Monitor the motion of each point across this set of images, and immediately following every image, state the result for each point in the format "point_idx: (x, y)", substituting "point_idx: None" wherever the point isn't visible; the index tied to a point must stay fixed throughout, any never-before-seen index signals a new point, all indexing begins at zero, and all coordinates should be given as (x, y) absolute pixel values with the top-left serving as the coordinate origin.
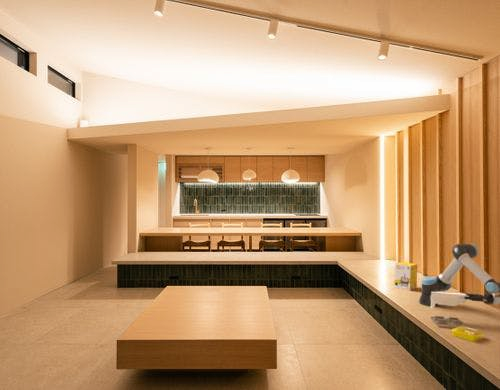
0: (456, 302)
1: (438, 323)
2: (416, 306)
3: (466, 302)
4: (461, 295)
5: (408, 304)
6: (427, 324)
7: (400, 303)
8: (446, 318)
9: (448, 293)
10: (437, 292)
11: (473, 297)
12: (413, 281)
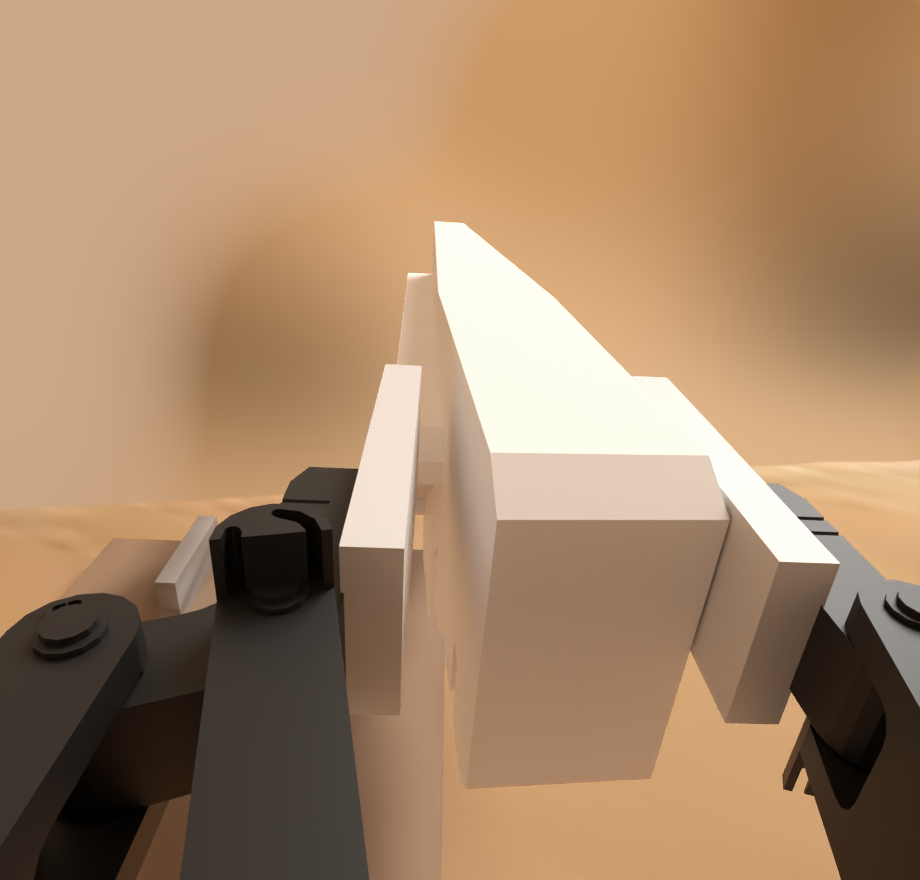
0: (436, 549)
1: (175, 548)
2: (897, 561)
3: (464, 777)
4: (392, 385)
5: (905, 519)
6: (221, 505)
7: (868, 479)
8: (409, 687)
9: (448, 272)
10: (450, 235)
11: (7, 682)
12: None
